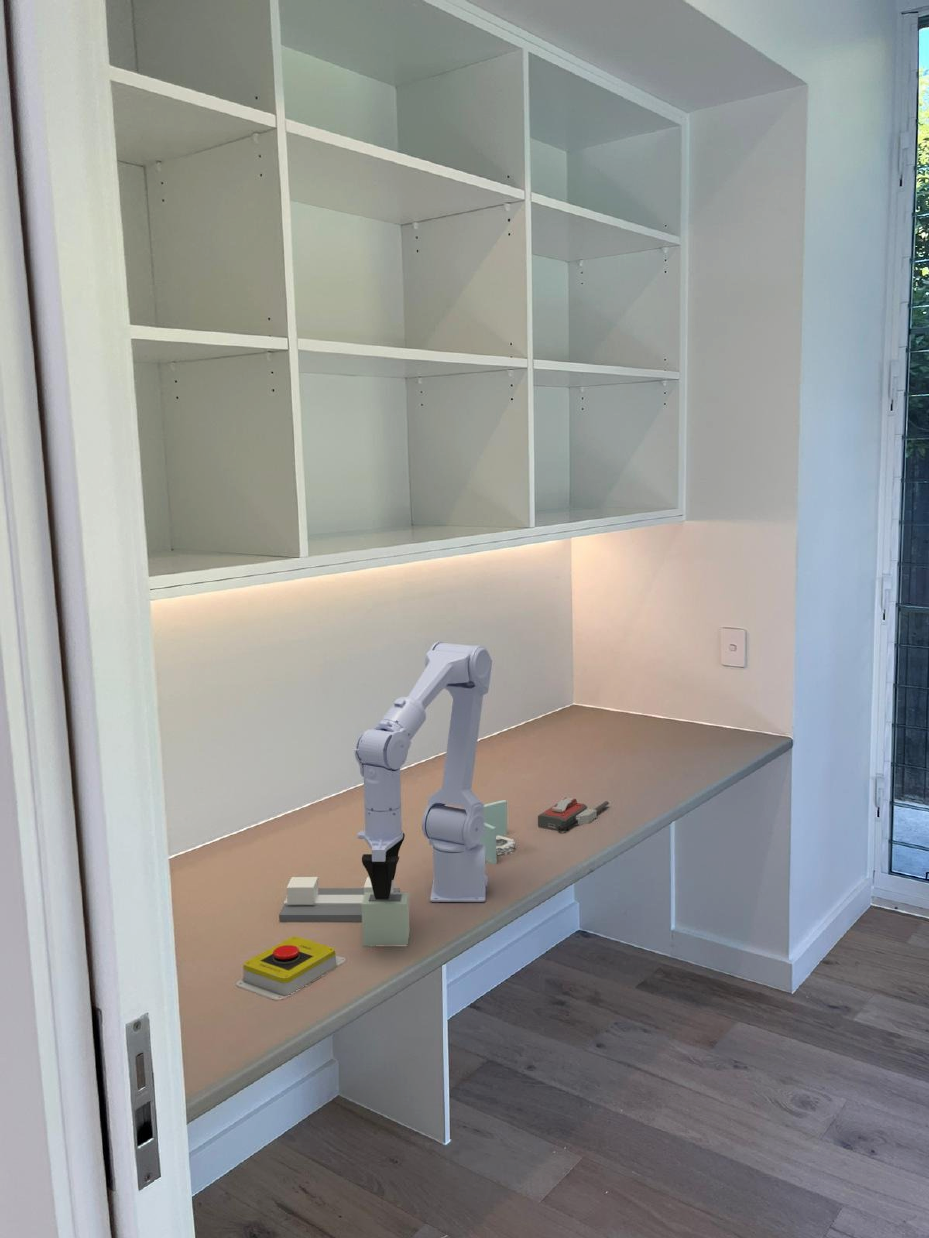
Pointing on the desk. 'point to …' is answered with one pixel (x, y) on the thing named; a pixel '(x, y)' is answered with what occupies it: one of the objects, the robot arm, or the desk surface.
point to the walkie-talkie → (567, 815)
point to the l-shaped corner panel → (496, 831)
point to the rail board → (323, 902)
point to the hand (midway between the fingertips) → (384, 888)
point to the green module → (385, 920)
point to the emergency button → (288, 967)
